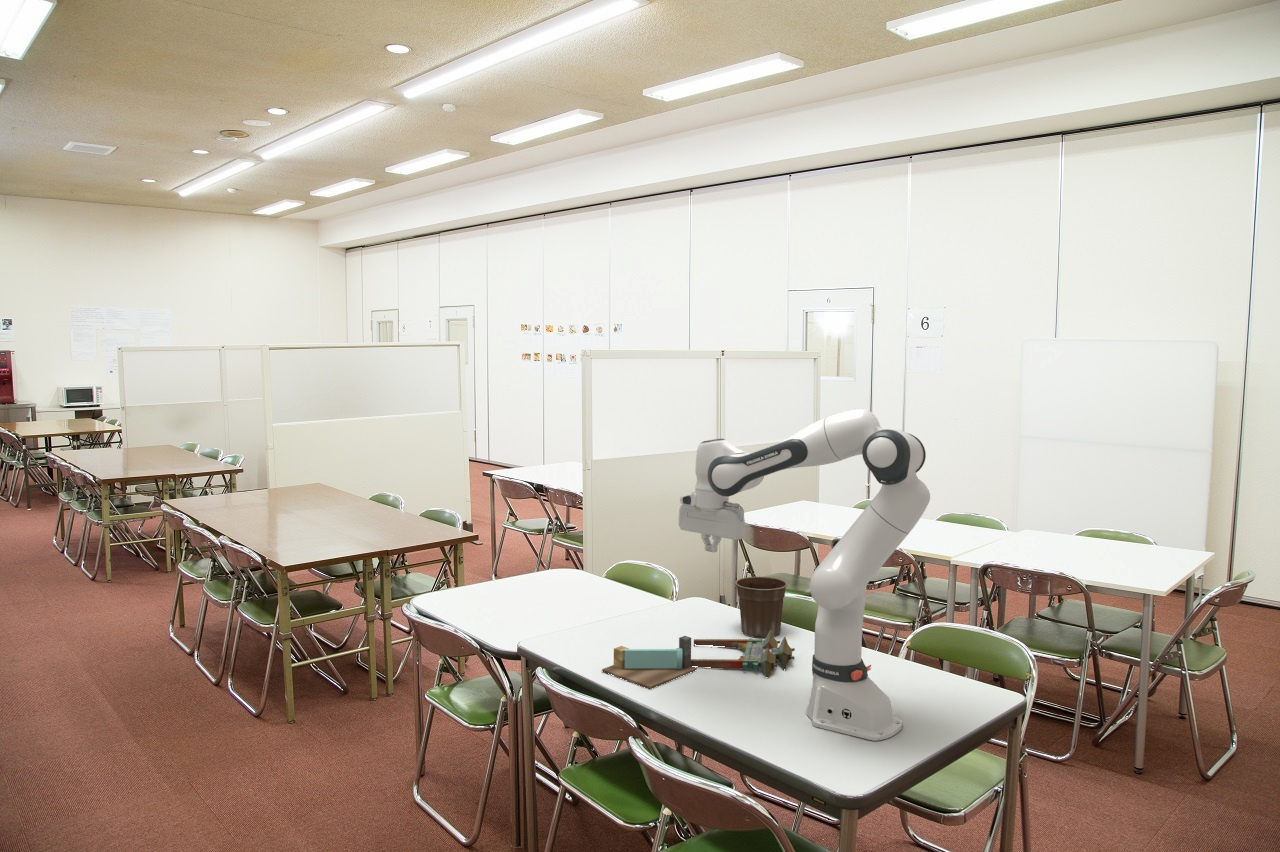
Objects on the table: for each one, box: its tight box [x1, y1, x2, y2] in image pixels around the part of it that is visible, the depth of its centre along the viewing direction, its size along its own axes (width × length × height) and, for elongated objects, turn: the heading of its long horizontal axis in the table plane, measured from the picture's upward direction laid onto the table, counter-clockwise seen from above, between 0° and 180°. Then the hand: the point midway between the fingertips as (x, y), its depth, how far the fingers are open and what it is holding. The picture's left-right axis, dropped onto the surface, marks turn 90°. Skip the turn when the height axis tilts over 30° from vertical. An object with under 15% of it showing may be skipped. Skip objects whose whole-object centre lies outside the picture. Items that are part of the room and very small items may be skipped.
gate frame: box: [601, 635, 698, 690], centre depth 230 cm, size 18×19×9 cm
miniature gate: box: [691, 630, 796, 678], centre depth 240 cm, size 27×6×30 cm
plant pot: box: [735, 576, 788, 639], centre depth 264 cm, size 16×16×16 cm
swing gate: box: [625, 647, 683, 669], centre depth 229 cm, size 2×16×5 cm, turn 92°
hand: (711, 551), depth 221 cm, fingers closed
